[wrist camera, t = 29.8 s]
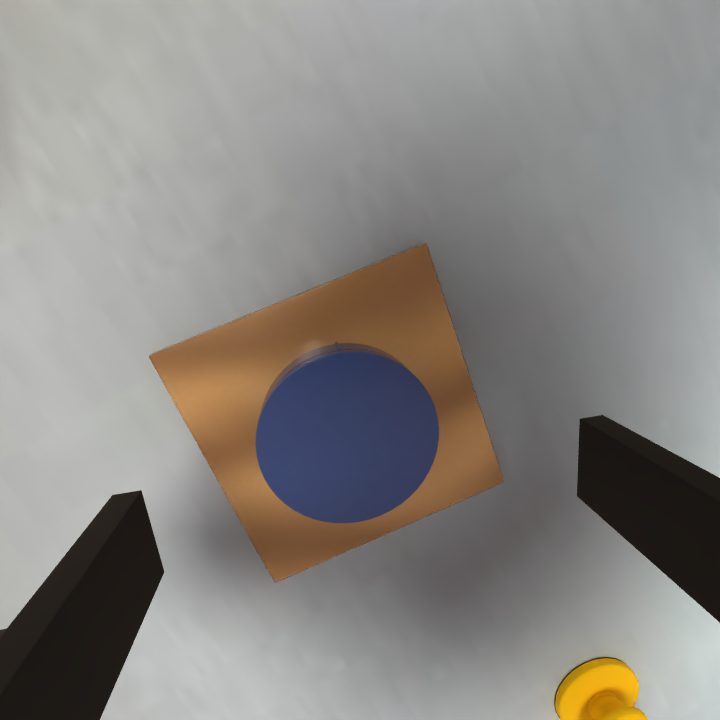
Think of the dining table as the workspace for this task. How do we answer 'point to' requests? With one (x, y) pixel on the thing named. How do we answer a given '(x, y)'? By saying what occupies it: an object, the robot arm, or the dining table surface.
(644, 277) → the dining table surface
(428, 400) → the lid
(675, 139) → the dining table surface
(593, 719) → the candle
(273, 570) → the coaster
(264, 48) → the dining table surface
